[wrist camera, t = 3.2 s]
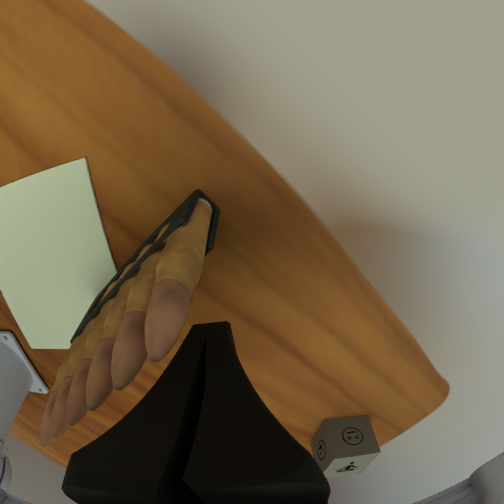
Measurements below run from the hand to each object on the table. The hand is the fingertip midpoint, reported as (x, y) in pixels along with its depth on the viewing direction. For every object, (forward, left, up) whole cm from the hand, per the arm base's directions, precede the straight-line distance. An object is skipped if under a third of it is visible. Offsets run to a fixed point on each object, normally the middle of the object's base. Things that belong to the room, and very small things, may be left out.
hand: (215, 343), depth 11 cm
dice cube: (+8, -23, -9) cm, 26 cm away
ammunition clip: (-5, 0, -8) cm, 10 cm away
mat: (-13, 0, -8) cm, 16 cm away
